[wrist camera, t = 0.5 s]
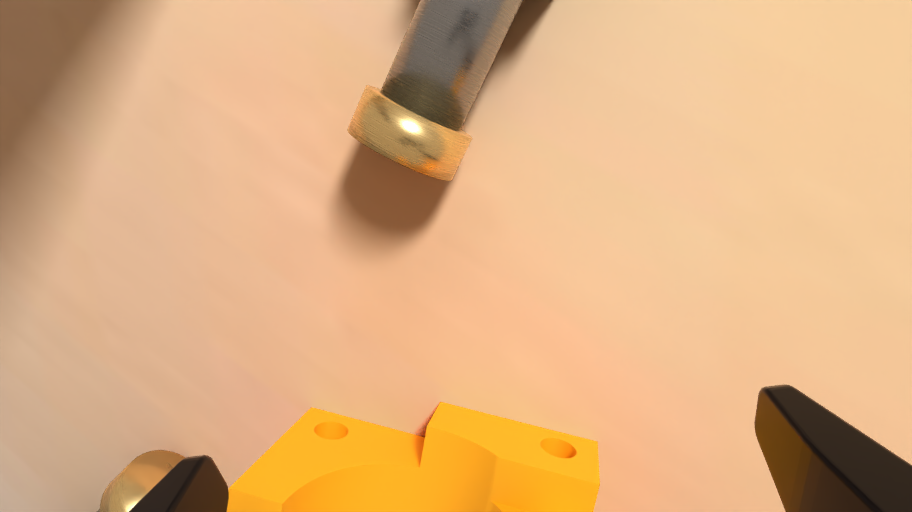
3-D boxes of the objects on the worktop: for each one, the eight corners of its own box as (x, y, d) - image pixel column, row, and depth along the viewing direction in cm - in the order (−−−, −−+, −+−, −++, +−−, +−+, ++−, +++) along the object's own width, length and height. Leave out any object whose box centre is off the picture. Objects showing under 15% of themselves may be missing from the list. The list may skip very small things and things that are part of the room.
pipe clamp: (597, 439, 23) (603, 545, 17) (574, 533, 24) (572, 665, 18) (318, 368, 25) (233, 441, 19) (307, 457, 26) (222, 554, 20)
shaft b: (466, 179, 22) (442, 187, 19) (366, 127, 23) (323, 123, 19) (592, -75, 20) (595, -127, 16) (478, -129, 20) (454, -192, 16)
